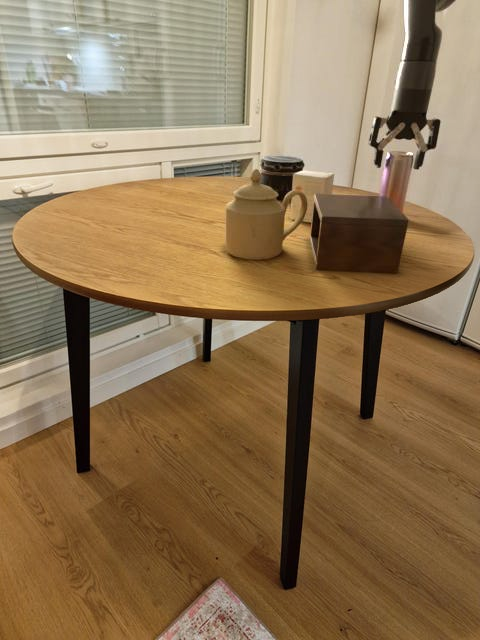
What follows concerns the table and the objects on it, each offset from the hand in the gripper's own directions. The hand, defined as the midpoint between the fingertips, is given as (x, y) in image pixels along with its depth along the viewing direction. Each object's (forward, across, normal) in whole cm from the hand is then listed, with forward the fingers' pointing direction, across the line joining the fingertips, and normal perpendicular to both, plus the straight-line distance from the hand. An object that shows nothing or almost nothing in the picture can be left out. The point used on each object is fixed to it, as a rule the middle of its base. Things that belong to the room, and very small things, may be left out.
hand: (396, 168), depth 96 cm
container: (+12, -26, +21) cm, 35 cm away
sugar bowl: (+12, -30, -24) cm, 40 cm away
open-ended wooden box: (+12, -13, -26) cm, 31 cm away
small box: (+12, -19, -3) cm, 22 cm away
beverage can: (+12, 0, 0) cm, 12 cm away
